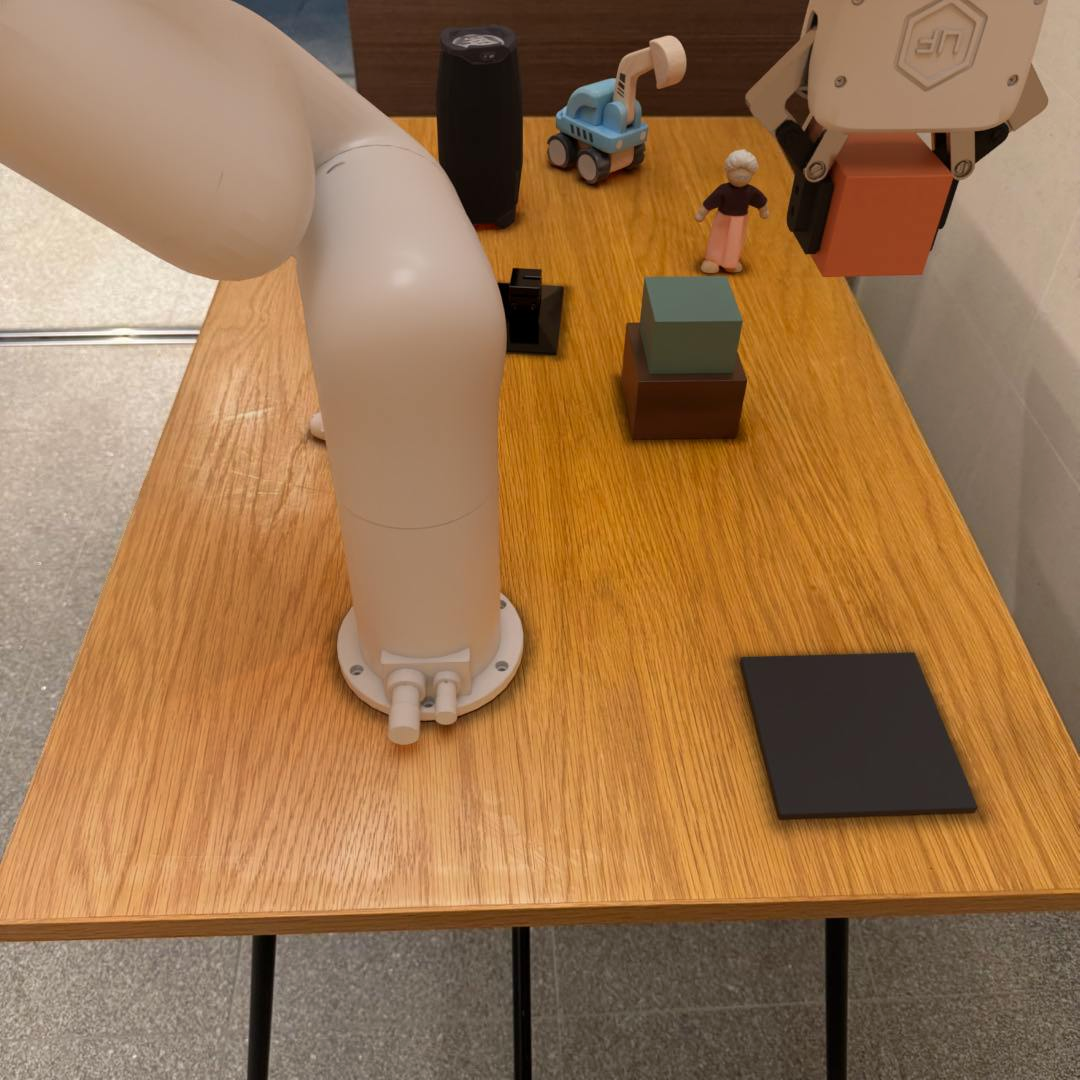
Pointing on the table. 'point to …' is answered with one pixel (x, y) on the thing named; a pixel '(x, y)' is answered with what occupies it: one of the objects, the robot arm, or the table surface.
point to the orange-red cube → (882, 206)
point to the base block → (679, 398)
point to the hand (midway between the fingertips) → (860, 238)
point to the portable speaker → (481, 120)
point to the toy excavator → (613, 114)
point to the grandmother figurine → (731, 213)
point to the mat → (853, 737)
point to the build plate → (531, 313)
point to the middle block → (689, 325)
